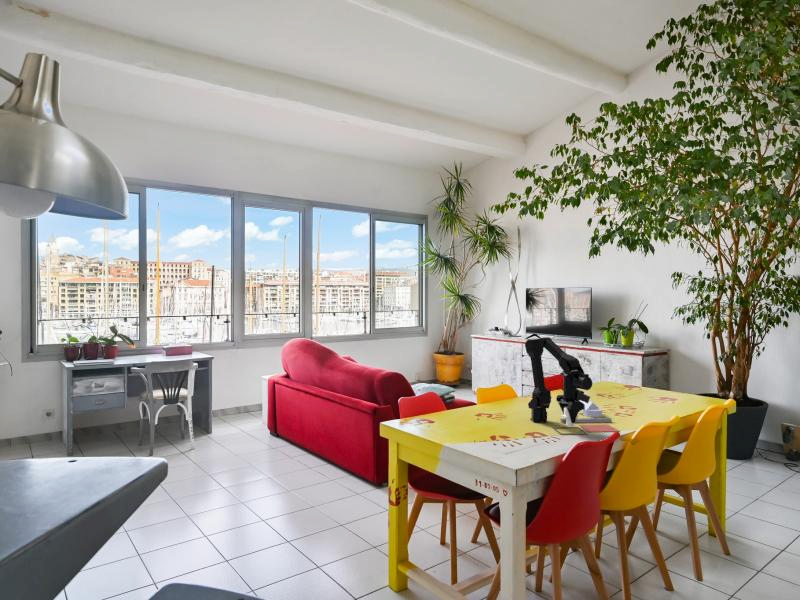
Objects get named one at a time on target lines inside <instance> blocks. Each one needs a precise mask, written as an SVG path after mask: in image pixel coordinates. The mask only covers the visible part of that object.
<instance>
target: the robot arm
mask: <svg viewBox="0 0 800 600" xmlns="http://www.w3.org/2000/svg"><path fill="white" fill-rule="evenodd" d="M524 347H525V350H526V351H525V352H526V355H528V356H529V358H530V363H531V372H532V379H533V385H534V389H533V391H532V393H531V394H532V399H531V400H530V401H529V402H528V404H527V405H528V409H531V417H530V421H532V422H533V423H548V411H547V409H549V408H550V406H551V403H552V399H553V397H552V395H551V390H550V389H547V388H546V381H545V375H544V368H543V360H542V356H543V353H544V349H545V350H546V351H547V352H548V353H549V354H551V356H553V357H554V358H555V359H556V360H557V361H558V365H559V367H560V368H561V370H562V371H561V372H560V373H559V375H560V376H563V387H562V388H561V390H562V393H563V394H558V395H557V396H556V397H555V398H556V402H557V403H558V405H559V407H560V409H561V412H562V414H564V407H568V408H567V410H568V413H569V416H570V420H571V422H572V423H574V424H576V423H575V420H576V417H577V415H578V414H579V412H581V411H583V410H584V409H585V405H584V404H583V403H582V402H580V400H581V401H584V402H586V403H588V402H590V400H591V396H589V395H587V394H585V391H589V390H591V389H592V387H593V381H592V378H591V377H590V375H589V373H585V371H584V369H583V367H582V365H581V363H580V360H579V359H578V358H576V357H575V356H574V355H572V354H568V353H567V352H565V351H564V350H563V349H562V348H561V347H560V346H559V345H557V344H556V342H555V341H553V339H552V338H551V337H549V336H548V337H547V336H546V337H545V336H544V337H540V338H532V339H527V340H526V341H525V342H524ZM580 389H581V390H580ZM583 390H584V391H583ZM564 419H566V418H564Z"/></svg>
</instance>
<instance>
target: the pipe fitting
mask: <svg viewBox="0 0 800 600" xmlns="http://www.w3.org/2000/svg"><path fill="white" fill-rule="evenodd" d="M567 408H568V407H564V414H563V413H562V414H561V418H562V419H565V418H566V423H565V427H575V426H574V424H575V423H572V422H571V420H570V416H569V413H568V410H567ZM577 418H579V415H578V414H577V417H576V419H577Z"/></svg>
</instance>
